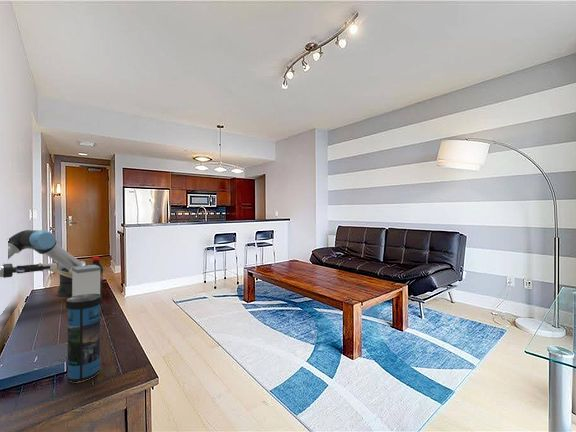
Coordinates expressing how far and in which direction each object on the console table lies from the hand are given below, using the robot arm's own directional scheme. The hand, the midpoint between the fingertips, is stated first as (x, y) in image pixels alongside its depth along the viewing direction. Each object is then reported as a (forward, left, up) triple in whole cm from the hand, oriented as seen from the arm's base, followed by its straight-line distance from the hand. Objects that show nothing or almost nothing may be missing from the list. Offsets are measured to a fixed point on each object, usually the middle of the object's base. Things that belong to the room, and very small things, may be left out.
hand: (56, 265), depth 176 cm
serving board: (0, +3, -6) cm, 6 cm away
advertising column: (+93, -6, -29) cm, 98 cm away
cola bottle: (-14, +25, -29) cm, 41 cm away
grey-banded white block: (+13, +13, -29) cm, 34 cm away
